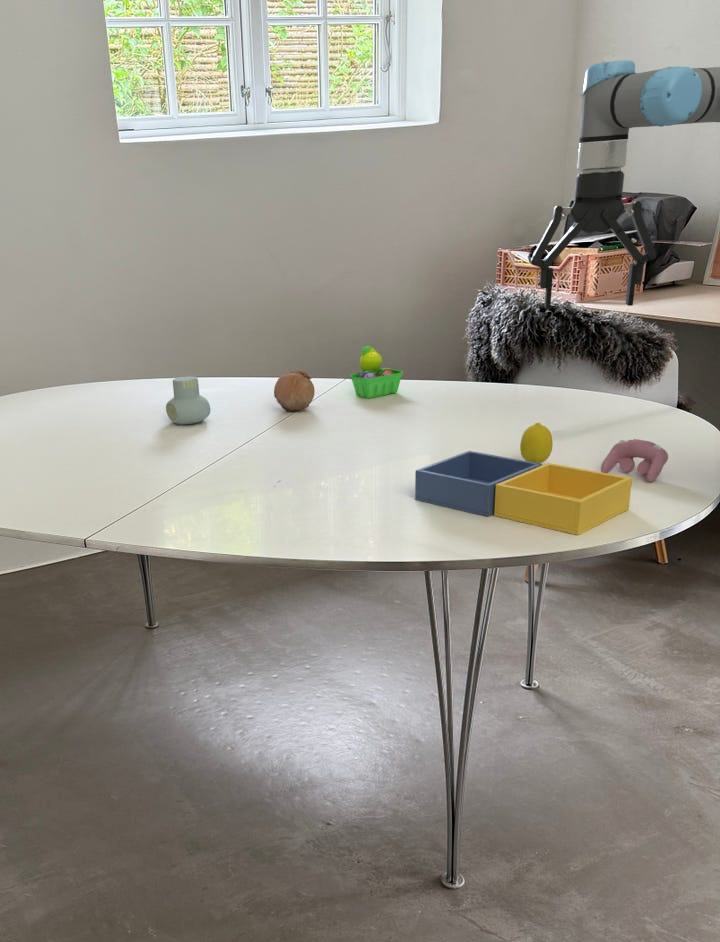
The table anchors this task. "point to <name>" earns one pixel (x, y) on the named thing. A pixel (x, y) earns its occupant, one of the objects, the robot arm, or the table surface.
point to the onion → (294, 391)
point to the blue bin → (467, 481)
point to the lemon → (536, 443)
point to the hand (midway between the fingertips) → (587, 306)
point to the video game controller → (640, 449)
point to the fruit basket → (374, 376)
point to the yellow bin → (563, 498)
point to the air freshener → (187, 402)
